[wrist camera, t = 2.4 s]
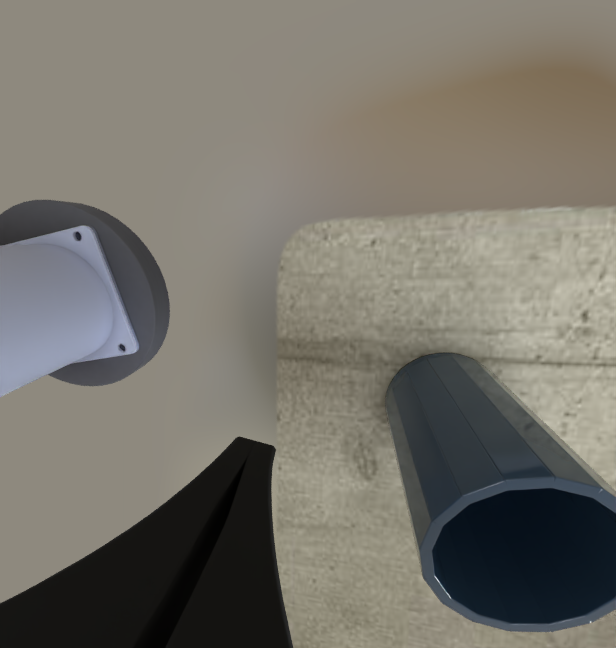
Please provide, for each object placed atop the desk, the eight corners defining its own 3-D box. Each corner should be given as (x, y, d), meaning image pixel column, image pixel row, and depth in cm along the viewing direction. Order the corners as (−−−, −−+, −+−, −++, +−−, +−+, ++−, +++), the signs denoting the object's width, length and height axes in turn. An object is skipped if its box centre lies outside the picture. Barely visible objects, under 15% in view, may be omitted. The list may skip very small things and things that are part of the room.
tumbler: (392, 451, 19) (429, 630, 10) (378, 360, 17) (410, 485, 9) (500, 443, 18) (641, 634, 9) (497, 344, 16) (666, 470, 8)
